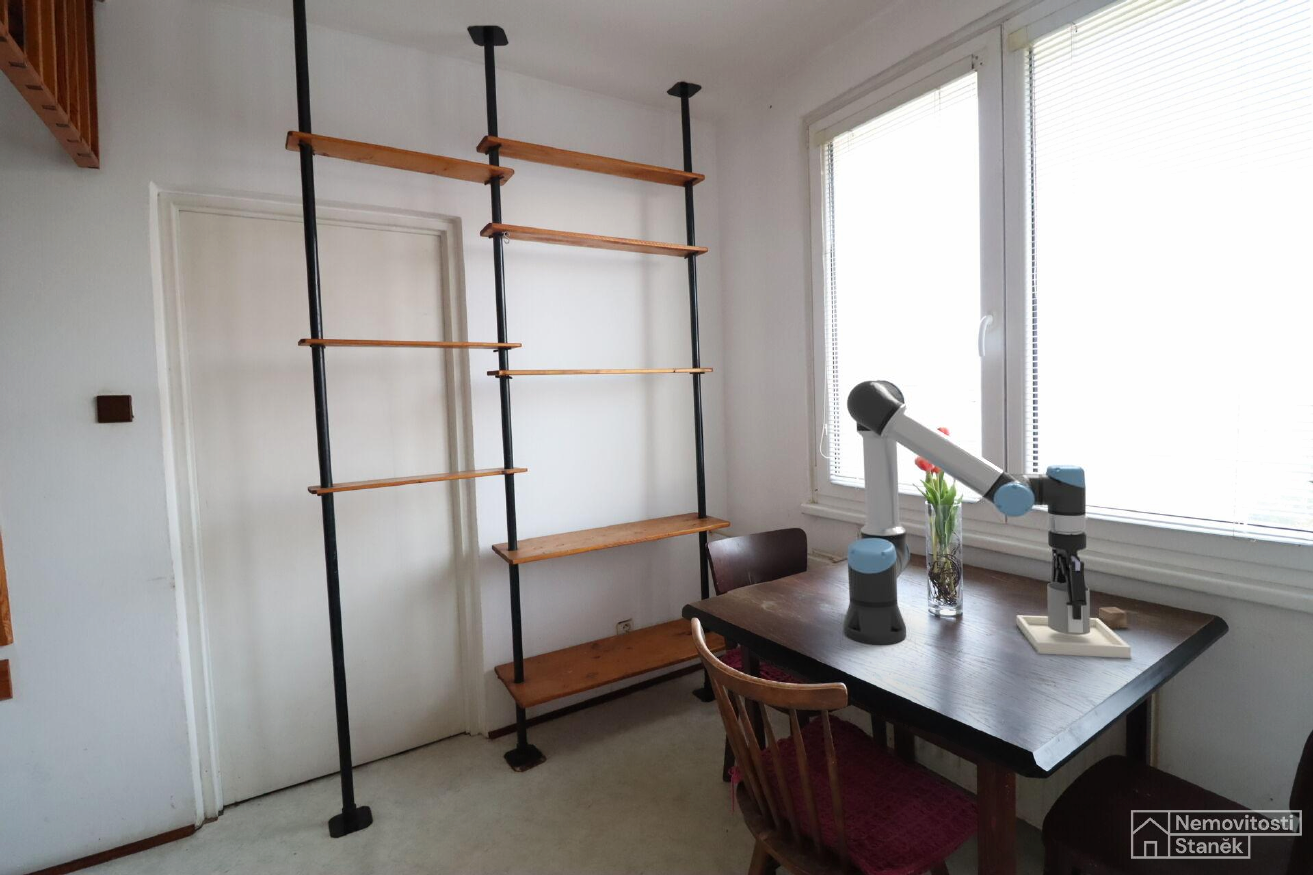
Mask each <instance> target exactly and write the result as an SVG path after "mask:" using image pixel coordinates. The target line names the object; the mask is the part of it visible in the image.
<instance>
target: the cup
mask: <svg viewBox="0 0 1313 875" xmlns="http://www.w3.org/2000/svg"><path fill="white" fill-rule="evenodd" d="M1046 588H1047V589H1046V591H1047V616H1048V627H1049V628H1050V629H1052V630H1054V631H1057V632H1060V633H1065V634H1072V635H1084V634H1088V633H1090V618H1091V610H1090V609H1091V607H1090V604H1091V601H1090V600H1091V599H1090V596H1091V595H1090V587H1088V586H1087V585H1085V591H1086V602H1087V605H1086V606H1084V605H1083V606H1082V608H1083V633H1075V632H1069V631H1068V605H1066V603H1067V602H1069V596H1068V589H1067V583H1061V584H1060V583H1059V582H1052V583H1051V582H1050V583H1047V586H1046Z"/></svg>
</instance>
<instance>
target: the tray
mask: <svg viewBox="0 0 1313 875" xmlns="http://www.w3.org/2000/svg"><path fill="white" fill-rule="evenodd" d="M1016 626H1017V627H1018V629H1019V630H1020V631H1021V632H1022V634H1023V635H1024V637H1025V638H1026V639H1027V640H1028V642H1029V643H1030V645H1031V646H1032V647H1033V649H1034V650H1035V651H1036V653H1037V654H1040V655H1041V654H1043V655H1044V654H1046V655H1061V656H1062V655H1063V656H1065V655H1066V656H1078V657H1079V656H1083V657H1097V658H1099V657H1101V658H1102V657H1103V658H1120V659H1131V658H1132V656H1131V654H1132V653H1131V646H1130V645H1129V644H1128V643H1127V642H1126V641H1124V640H1123V639H1122V638H1121V637H1120V635H1118V634H1117V633H1115V632H1114V631H1113V629H1110V628H1108V627H1107V626H1106V625H1105V624H1104V623H1103V622H1102V621H1101V620H1099V617H1098V618H1097V617H1090V633H1088V634H1084V635H1072V634H1065V633H1060V632H1057V631H1054V630H1052V629H1050V628H1049V627H1048V615H1047V616H1046V615H1021V614H1020V615H1018V614H1017V615H1016Z"/></svg>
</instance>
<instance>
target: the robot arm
mask: <svg viewBox="0 0 1313 875" xmlns="http://www.w3.org/2000/svg"><path fill="white" fill-rule="evenodd" d="M905 402H906V401H905V396H904V394H903V392H902V390H901V389H900V387H898V386H897V385H896V384H894V383H893V382H891V381H888V380H881V379H878V380H866V381H865V380H864V381H862V382H859V383H858V384H857V385H855V386H854V387H853V388H852V389H851V390H850V392H849V394H848V396H847V400H846V406H847V411H848V414H849V416H850V417H851V418H852V419H853V421H855V422H856V432H857V434H859V435H860V436H861V437H862V447H863V449H862V450H863V470H864V471H863V472H864V497H865V498H864V500H865V501H864V502H865V524H864V525H863V526H862V527H861V529H860V539H857V540H854V541H853V542H851V543H850V544H849V545H848V546H847V547H848V548H847V555H846V561H847V571H848V572H847V574H848V593H849V604H848V608H847V610H846V614H845V617H844V620H843V633H844V635H845V636H846V637H848V638H850V639H851V640H853V641H857V642H859V643H863V644H869V645H870V644H871V645H890V644H895V643H896V644H897V643H899V642H901V641H903V640H905V639H906V637H907V626H906V623H905V620H904V618H903V614H902V613H901V609H900V608H899V603H898V583H897V582H898V578H899V577H900V576H901V574H903V572H904V571H905V570H906V568H907V567H908V565H909V563H910V558H911V550H910V547H909V544H908V542H907V531H906V528H904V527H903V526H902V524H901V522H900V504H899V502H900V500H899V476H898V475H899V474H898V473H899V471H898V470H899V469H898V450H897V449H898V447H897V446H898V444H900V445H901V446H902V447H904V448H906V449H907V450H908V451H909V450H910V452H912V453H914V454H915V455H916V456H918V457H920V458H921V459H923V460H925V461H926V462H927V463H929V464H931V465H932V466H934V467H936V468H937V469H939V470H940V471H942V473H943V472H944V473H945V474H946V475H948V476H950V477H951V478H952V479H954V480H955V481H957V482H959V483H961V484H962V485H964V486H965V487H967V488H969V490H972V491H973V492H975V493H976V494H978V495H980V497H982V498H984V499H985V500H986V501H987V502H990V503H991V504H993V505H994V506H995V508H996V509H997V510H998V511H999V512H1000V513H1001V514H1003V515H1004V516H1007V517H1009V518H1010V517H1011V518H1018V517H1019V518H1020V517H1023V516H1025V515H1026V514H1028V513H1029V512H1030V511H1031V510H1032V509H1033V507H1034V506H1046V507H1047V528H1048V529H1049V531H1047V537H1048V538H1047V541H1048V542H1047V543H1048V546H1049V547H1050V548H1052V549H1051V554H1052V563H1051V580H1050V581H1051V582H1050V583H1052V582H1059V583H1060V584H1061V583H1067V589H1068V596H1069V602H1067V603H1066V605H1068V631H1069V632H1075V633H1083V608H1082V606H1083V605H1084V606H1086V605H1087V602H1086V591H1085V586H1086V583H1085V582H1086V581H1085V562H1084V561H1082V560H1081V558H1080V556H1079V554H1078V551H1083V550H1086V548H1087V533H1086V532H1085V531H1086V530H1087V523H1086V522H1087V521H1089V517H1088V516H1086V511H1087V510H1086V508H1087V506H1086V505H1087V504H1086V501H1087V500H1086V499H1087V498H1086V493H1087V492H1086V489H1087V488H1086V476H1085V470H1084V469H1083V467H1081V466H1079V465H1072V464H1071V465H1070V464H1059V465H1058V464H1056V465H1055V464H1054V465H1052V464H1051V465H1049V466H1048V467H1047V468H1046V471H1045V473H1039V474H1038V473H1037V474H1036V473H1035V474H1034V473H1009V472H1006V471H1004V470H1003V469H1001V468H1000V467H998V466H996V465H995V464H993V463H992V462H990V461H988V460H987V459H985V457H982V456H980V455H979V454H977V453H975V452H974V451H972V450H971V449H969V448H968V447H966V446H964V445H962V443H960V442H957V441H956V440H955V439H953V438H952V437H950V436H948V435H946V434H945V433H943V432H942V431H940V430H939V429H936V428H935V427H933V426H932V425H930V424H928V423H927V422H925V421H924V420H922V419H920V418H919V417H917V416H915V415H914V414H912V413H911V412H910V411H908V410H907V409H908V408H907V406H906V404H905ZM897 443H898V444H897Z"/></svg>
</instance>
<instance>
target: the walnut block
mask: <svg viewBox="0 0 1313 875" xmlns="http://www.w3.org/2000/svg"><path fill="white" fill-rule="evenodd" d="M1127 616H1128V614H1127V612H1126V611H1125V610H1123V609H1120V608H1118V607H1115V606H1109V607H1099V608H1098V619H1099V620H1101V621H1102V622H1103V623H1104V624H1105V625H1106V626H1107V627H1108V628H1110V629H1111V630H1113V629H1127V628H1128V624H1127V623H1128V619H1127V618H1128V617H1127Z"/></svg>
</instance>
